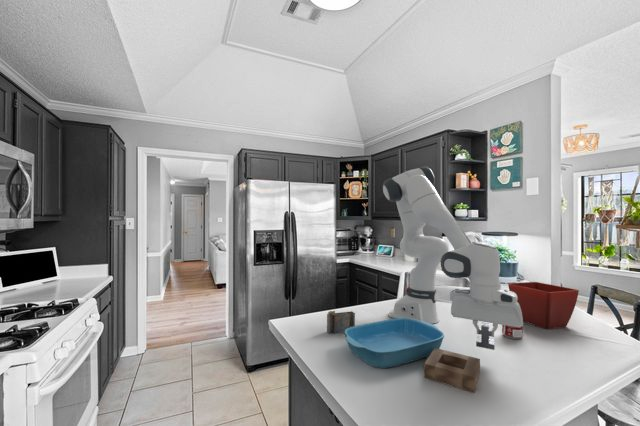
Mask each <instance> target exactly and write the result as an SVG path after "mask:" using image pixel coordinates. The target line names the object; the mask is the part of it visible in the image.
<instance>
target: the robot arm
mask: <svg viewBox="0 0 640 426" xmlns="http://www.w3.org/2000/svg"><path fill="white" fill-rule="evenodd" d="M435 178H436V177H435V175H434V172H433V171H432V169H431V168H429V166H419V167H417V168H414V169H413V168H412V169H410V170H406V171H404V172H402V173H399V174H397V175H395V176H393V177H392V178H391V177H390V178H388V179H386V180H384V182H383V184H382V191H383V194H384V196H385V198H386V200H387V201H389V202H392V203H395V204H396V208H397V210H398V214H399V218H400V220H401V224H402V228H403V229H402V230H403V236H402V238H401V240H400V242H399V249H400V251H401V253H402V254H404V256H407V257H410V258H414V259H415V258H416V259H417V263H416V265H415V267H413V268H412V269H411V270H410V274H409V275H410V277H409V279H410V281H409V282H410V285H408V286H407V287H406V288H405V293H406V294H405V295H404V296H402V297H401V298H399V299H398V300H396V301H395V303H394V305H393V309H392V310H391V309H390V311H389V312H388V317H389V318H391V319H396V318H409V319H414V320H417V321H423V322H427V323H430V324H432V325H434V324H437V323H439V322H440V319H439V316H438V311H437V310H438V309H437V289H436V274H437V269H438V267H439V266H440V267H441V271H442V272H443V273H444V274H445V276H447V277H449V278H451V279H463V278H464V279H465V278H466V279H468V280H469V289H459V288H454V289H452V290H451V291H450V293H449V300H450V301H451V305H450V307H451V308H450V315H452V317H453V318H458V319H465V320H471V321H472V324H473V326H474V327H475V329H476V335H480V336H481V327H479V325H478V323H479V322H481V323H482V322H485V323H489V324H492V328H491V329H490V328H489V338H490V337H491V338H495V332H496V331H497V329H498V328H499V325H501V326H502V325H507V326H513V327H522V328H523V326H524V321H523V317H522V311H521V308H520V305H519V303H518V302H517V300H518V297H517V295H516V293H514V292H512V291H509V289H506V288H504V287H501V285H502V284H501V280H500V273H501V260H500V254H499V253H500V252H499V249H498V247H497V246H495V245H494V244H493V243H489V242H485V241H471V240H470V239H469V237H468V235H467V234H466V233H465V232H464V229H463V228H462V227H461V225H460V224H459V223H458V221H457V220H456V218H455V217H454V216H453V215H452V213H451V212H450V211H449V209H448V207H447V206H446V205H445V203H444V201H443V199H442V198H441V196H440V194H439V193H438V191H437V190H436V188H435V184H436V179H435ZM426 225H429V226H431V227H433V228H436V229H438V230H439V231H440V232H442V233H443V234H444V236H445V237H446V238H447V239H448V242H449V243H450V245H451V246H452V248H453V249H452V250H450V249H449V245H448V242H447V241H446V240H445V239H443V238H441V237H437V236H432V235H425V234H424V227H426Z"/></svg>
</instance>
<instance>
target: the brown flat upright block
mask: <svg viewBox="0 0 640 426" xmlns="http://www.w3.org/2000/svg"><path fill="white" fill-rule="evenodd" d="M355 323H356V312H354V311H342V312H336V310H329V311H328V312H327V313H326V333H327V334H328V335H330V334H331V332H333V334H340V333H345V330H346V329H347V328H350V327H353V326H356V325H355Z"/></svg>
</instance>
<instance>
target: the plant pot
mask: <svg viewBox="0 0 640 426" xmlns="http://www.w3.org/2000/svg"><path fill="white" fill-rule="evenodd" d="M508 290H509V291H512V292H514V293H516V295H517V297H518V300H517V302H518V303H519V305H520V308H521V311H522V317H523V323H524V322H525V323H527V324H530V325H533V326H536V327H539V328H542V329H545V330H553V329H559V328H566V327H567V326H568V324H569V323H570V320H571V318H572V316H573V313H574V310H575V307H576V306H577V301H578V296H579V291H580V290H578V289H576V288H575V289H574V288H570V287H565V286H559V285H555V284H550V283H545V282H537V281H528V282H527V281H526V282H525V281H524V282H512V283H511V282H510V283H508Z"/></svg>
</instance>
